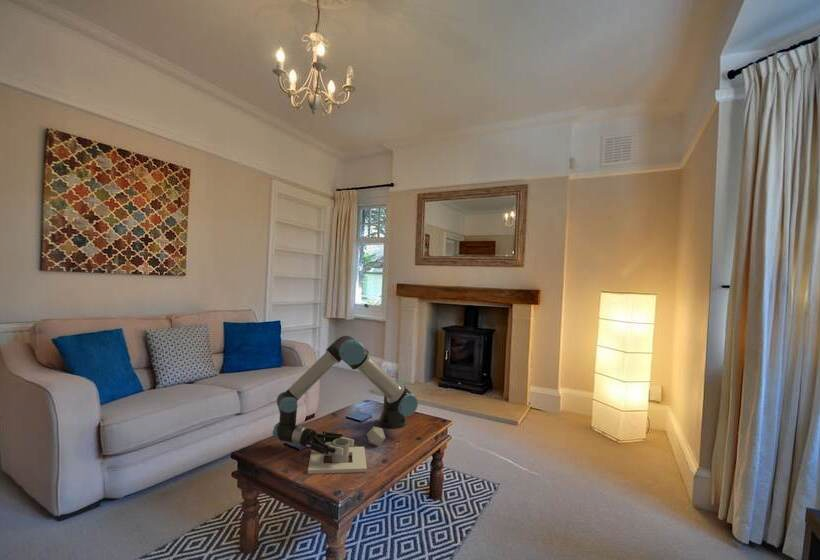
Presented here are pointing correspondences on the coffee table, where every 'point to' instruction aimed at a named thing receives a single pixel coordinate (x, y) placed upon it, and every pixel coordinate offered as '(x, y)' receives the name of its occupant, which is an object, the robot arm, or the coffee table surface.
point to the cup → (345, 445)
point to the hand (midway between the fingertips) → (348, 447)
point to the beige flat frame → (356, 465)
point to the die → (376, 436)
